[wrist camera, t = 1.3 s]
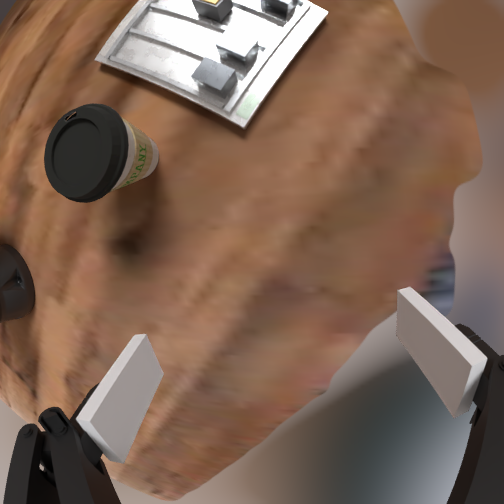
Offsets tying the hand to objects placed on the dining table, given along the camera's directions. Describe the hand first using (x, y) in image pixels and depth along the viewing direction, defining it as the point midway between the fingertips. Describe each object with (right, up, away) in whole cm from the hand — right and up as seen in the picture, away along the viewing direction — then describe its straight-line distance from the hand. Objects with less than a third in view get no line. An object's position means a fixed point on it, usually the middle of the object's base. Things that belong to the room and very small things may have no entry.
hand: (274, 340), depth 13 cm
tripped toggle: (-6, +37, +13) cm, 40 cm away
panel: (-7, +35, +16) cm, 40 cm away
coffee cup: (-17, +17, +22) cm, 32 cm away
